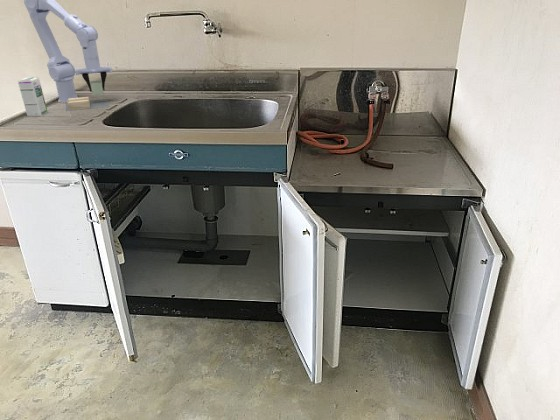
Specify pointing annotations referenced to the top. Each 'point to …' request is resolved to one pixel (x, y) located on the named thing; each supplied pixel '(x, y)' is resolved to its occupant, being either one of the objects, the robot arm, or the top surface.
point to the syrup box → (32, 96)
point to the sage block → (96, 87)
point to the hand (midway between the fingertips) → (97, 90)
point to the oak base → (78, 103)
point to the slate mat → (93, 105)
